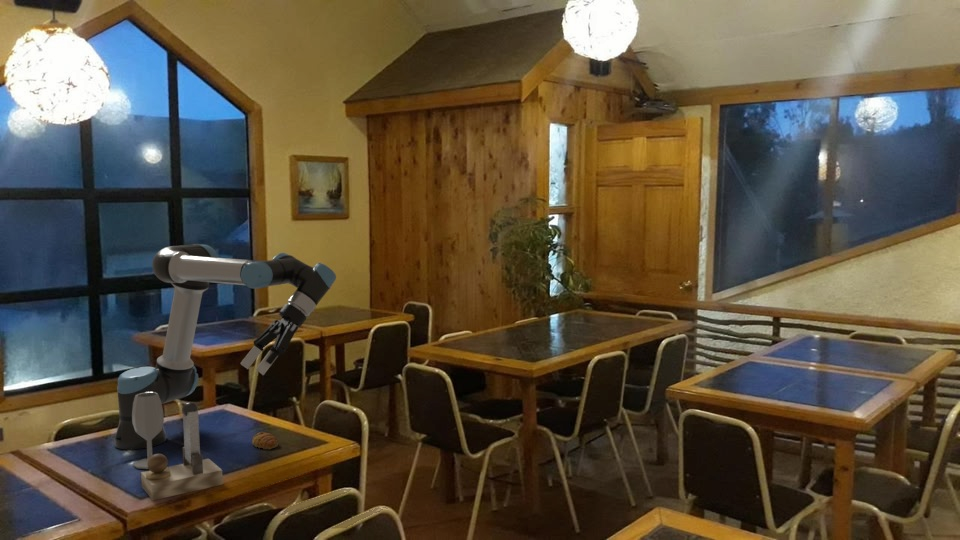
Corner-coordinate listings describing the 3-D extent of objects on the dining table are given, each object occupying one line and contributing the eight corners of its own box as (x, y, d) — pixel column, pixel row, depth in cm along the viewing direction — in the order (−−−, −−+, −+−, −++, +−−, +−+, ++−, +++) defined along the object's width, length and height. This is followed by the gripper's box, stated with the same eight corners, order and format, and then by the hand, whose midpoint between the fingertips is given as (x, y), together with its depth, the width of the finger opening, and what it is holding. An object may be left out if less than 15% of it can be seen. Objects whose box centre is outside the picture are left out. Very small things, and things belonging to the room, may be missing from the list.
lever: (189, 470, 205) (185, 406, 203) (181, 463, 211) (178, 400, 209) (204, 467, 207) (201, 403, 206) (196, 460, 213) (193, 398, 211)
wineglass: (146, 471, 219) (142, 399, 217) (127, 466, 223) (123, 395, 221) (172, 462, 226) (169, 392, 224) (154, 458, 231) (150, 389, 229)
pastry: (284, 447, 240) (283, 435, 240) (264, 452, 235) (264, 440, 235) (268, 441, 247) (268, 429, 246) (249, 446, 242) (248, 434, 241)
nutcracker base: (152, 500, 197) (150, 462, 197) (141, 486, 207) (139, 450, 206) (222, 484, 208) (221, 448, 207) (209, 472, 218) (207, 437, 217)
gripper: (323, 320, 217) (276, 382, 209) (291, 315, 237) (247, 371, 230) (303, 304, 213) (255, 366, 206) (272, 300, 234) (228, 356, 226)
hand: (251, 369), depth 218 cm, fingers open, 13 cm apart
